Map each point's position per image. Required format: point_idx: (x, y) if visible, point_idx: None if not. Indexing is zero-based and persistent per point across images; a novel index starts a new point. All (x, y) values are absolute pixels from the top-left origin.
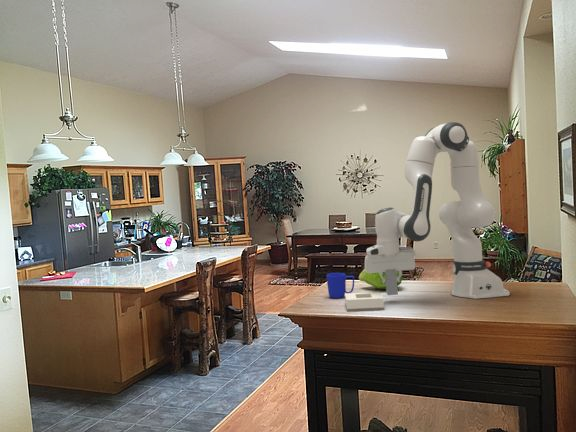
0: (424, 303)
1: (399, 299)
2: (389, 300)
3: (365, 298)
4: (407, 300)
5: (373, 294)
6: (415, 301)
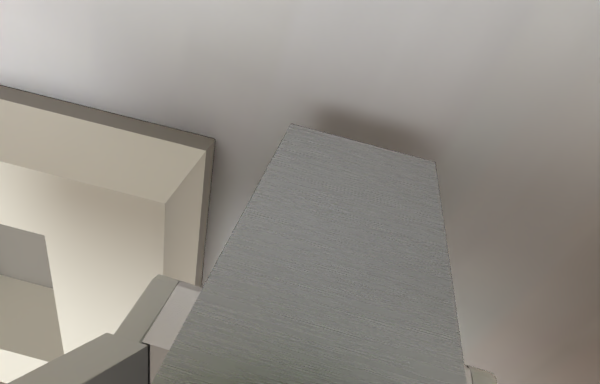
0: (591, 330)
1: (486, 79)
2: (348, 77)
3: (9, 370)
4: (537, 167)
5: (80, 286)
6: (579, 240)
